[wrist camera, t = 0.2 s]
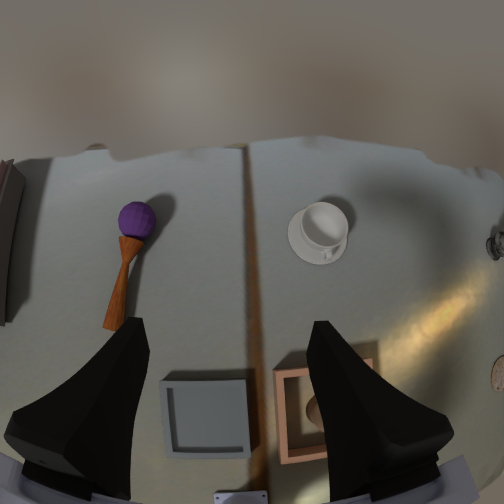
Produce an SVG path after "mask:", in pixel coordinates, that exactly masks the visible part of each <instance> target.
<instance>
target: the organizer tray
mask: <svg viewBox="0 0 504 504" xmlns="http://www.w3.org/2000/svg"><path fill="white" fill-rule="evenodd" d="M13 162H14V159H11V160H8V161H6V162H4V161H3V160H1V163H0V326H5V303H6V287H7V276H8V266H9V265H10V264H9V258H10V251H11V244H12V238H13V232H14V227H15V221H16V216H17V212H18V207H19V203H20V199H21V195H22V191H23V187H24V183H25V179H26V178H25V177H24V176H23V175H22V174H21V173H20V172H19V171H18V170H17V169H16V168H15V167H14V166H13Z"/></svg>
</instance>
